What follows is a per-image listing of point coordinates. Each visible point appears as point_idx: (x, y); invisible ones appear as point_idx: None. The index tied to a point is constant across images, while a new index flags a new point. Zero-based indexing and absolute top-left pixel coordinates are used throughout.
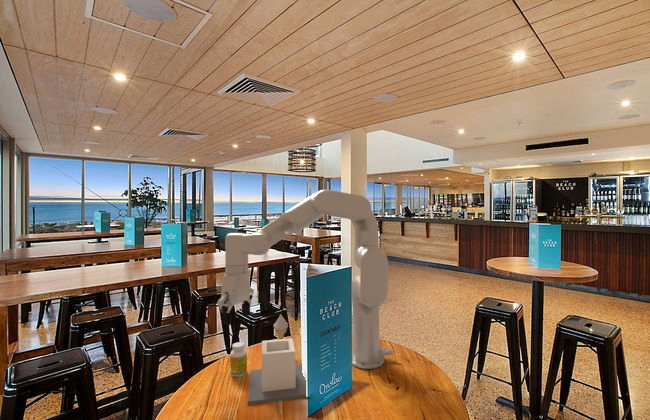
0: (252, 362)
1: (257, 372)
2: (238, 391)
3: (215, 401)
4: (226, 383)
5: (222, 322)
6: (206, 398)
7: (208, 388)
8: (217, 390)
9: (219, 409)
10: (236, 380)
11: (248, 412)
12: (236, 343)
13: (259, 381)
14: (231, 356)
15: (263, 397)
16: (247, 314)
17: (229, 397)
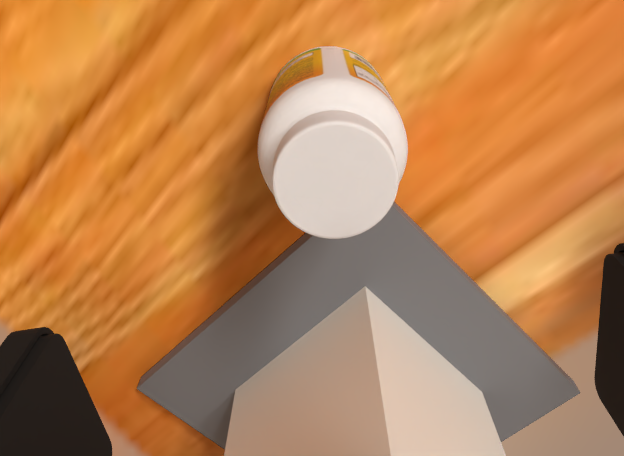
0: (500, 69)
1: (371, 241)
2: (182, 264)
3: (41, 236)
4: (188, 141)
5: (7, 336)
6: (16, 172)
7: (75, 89)
8: (105, 158)
9: (25, 302)
10: (251, 167)
11: (111, 409)
12: (343, 145)
13: (297, 320)
14: (258, 138)
15: (206, 420)
16: (606, 386)
17: (115, 267)
